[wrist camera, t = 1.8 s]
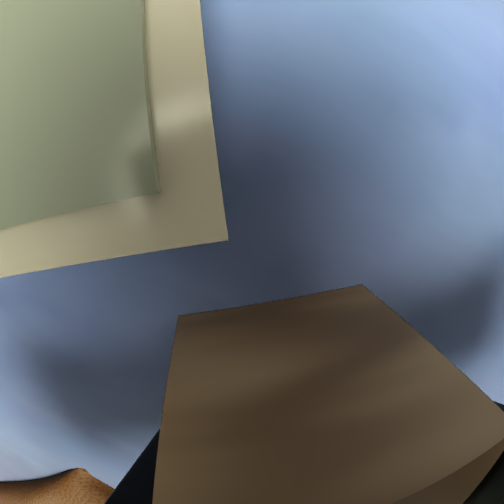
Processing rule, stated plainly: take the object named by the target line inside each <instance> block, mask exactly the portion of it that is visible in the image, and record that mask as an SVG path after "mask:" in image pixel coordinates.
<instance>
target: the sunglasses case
mask: <svg viewBox="0 0 504 504" xmlns="http://www.w3.org/2000/svg"><path fill="white" fill-rule="evenodd" d="M114 490H115V489H114V488H112V487H110V486H108V485H107V484H105V483H103V482H101V481H100V480H98V479H96V478H95V477H93V476H91V475H90V474H89V473H88V471H86V470H85V469H82V468H75V469H70V470H67V471H64V472H62V473H60V474H57V475H54V476H51V477H47V478H41V479H36V480H30V481H18V482H16V481H15V482H0V504H104V503H105V502H106V500H107V499H108V498H109V496H110V495H111V494H112V492H113V491H114Z"/></svg>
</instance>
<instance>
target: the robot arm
mask: <svg viewBox="0 0 504 504" xmlns="http://www.w3.org/2000/svg"><path fill="white" fill-rule="evenodd" d="M493 402H494V403H495V404H496V405H497V406H498V407H499V408H500V409H501V410H502V411H503V412H504V405H503V404H500V403H497V402H495V401H493ZM159 435H160V429H159V430H158V432H157V433H156V434H155V436H154V437H153V439H152V440H151V441H150V443H149V444H148V445H147V447H146V448H145V450H144V451H143V452H142V454H141V455H140V456H139V458H138V459H137V460H136V462H135V463H134V464H133V466H132V467H131V468H130V470H129V471H128V473H127V474H126V475H125V477H124V478H123V479H122V481H121V482H120V483H119V485H118V486H117V487H116V489H115V490H114V491H113V492H112V494H111V495H110V496H109V498H108V499H107V500H106V502H105V503H104V504H152V502H153V490H154V479H155V470H156V460H157V451H158V443H159ZM463 504H504V451H503V452H502V454H501V455H500V456H499V458H498V459H497V461H496V462H495V464H494V465H493V466H492V468H491V469H490V470H489V472H488V473H487V474H486V476H485V477H484V478H483V480H482V481H481V482H480V483H479V485H478V486H477V487H476V488H475V490H474V491H473V492H472V493H471V494H470V496H469V497H468V498H467V499H466V500H465V501H464V503H463Z"/></svg>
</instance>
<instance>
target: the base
mask: <svg viewBox="0 0 504 504" xmlns="http://www.w3.org/2000/svg"><path fill="white" fill-rule="evenodd" d="M226 240H229V239H228V232H227V225H226V218H225V210H224V203H223V196H222V188H221V181H220V173H219V165H218V158H217V150H216V142H215V134H214V126H213V117H212V109H211V101H210V92H209V83H208V75H207V66H206V56H205V47H204V38H203V28H202V18H201V8H200V0H0V278H2V277H7V276H13V275H18V274H24V273H30V272H35V271H41V270H47V269H53V268H58V267H64V266H70V265H76V264H82V263H88V262H94V261H100V260H106V259H112V258H118V257H124V256H130V255H136V254H142V253H149V252H155V251H161V250H168V249H174V248H180V247H187V246H193V245H200V244H206V243H213V242H219V241H226Z"/></svg>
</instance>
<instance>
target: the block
mask: <svg viewBox="0 0 504 504" xmlns="http://www.w3.org/2000/svg"><path fill="white" fill-rule="evenodd" d="M503 451H504V412H503V411H502V410H501V409H500V408H499V407H498V406H497V405H496V404H495V403H494V402H493V401H492V400H491V399H490V398H489V397H488V396H487V395H486V394H485V393H484V392H483V391H482V390H481V389H480V388H479V387H478V386H477V385H475V384H474V383H473V382H472V381H471V380H470V379H469V378H468V377H467V376H466V375H465V374H464V373H463V372H462V371H461V370H459V369H458V368H457V367H456V366H455V365H454V364H453V363H452V362H451V361H450V360H449V359H447V358H446V357H445V356H444V355H443V354H442V353H441V352H440V351H439V350H438V349H436V348H435V347H434V346H433V345H432V344H431V343H430V342H429V341H427V340H426V339H425V338H424V337H423V336H422V335H421V334H420V333H418V332H417V331H416V330H415V329H414V328H413V327H412V326H410V325H409V324H408V323H407V322H406V321H405V320H403V319H402V318H401V317H400V316H399V315H398V314H397V313H395V312H394V311H393V310H392V309H391V308H390V307H388V306H387V305H386V304H385V303H384V302H382V301H381V300H380V299H379V298H378V297H377V296H375V295H374V294H373V293H372V292H371V291H369V290H368V289H367V288H366V287H365V286H363V285H362V284H361V285H356V286H351V287H346V288H341V289H336V290H331V291H326V292H321V293H316V294H311V295H305V296H300V297H294V298H289V299H283V300H278V301H272V302H266V303H260V304H254V305H248V306H242V307H235V308H229V309H222V310H216V311H209V312H202V313H195V314H188V315H180V316H178V321H177V326H176V332H175V337H174V343H173V348H172V354H171V360H170V366H169V372H168V379H167V385H166V392H165V398H164V405H163V412H162V420H161V427H160V435H159V443H158V451H157V460H156V470H155V479H154V490H153V502H152V504H463V503H464V501H465V500H466V499H467V498H468V497H469V496H470V494H471V493H472V492H473V491H474V490H475V488H476V487H477V486H478V485H479V483H480V482H481V481H482V480H483V478H484V477H485V476H486V474H487V473H488V472H489V470H490V469H491V468H492V466H493V465H494V464H495V462H496V461H497V459H498V458H499V456H500V455H501V454H502V452H503Z"/></svg>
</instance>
